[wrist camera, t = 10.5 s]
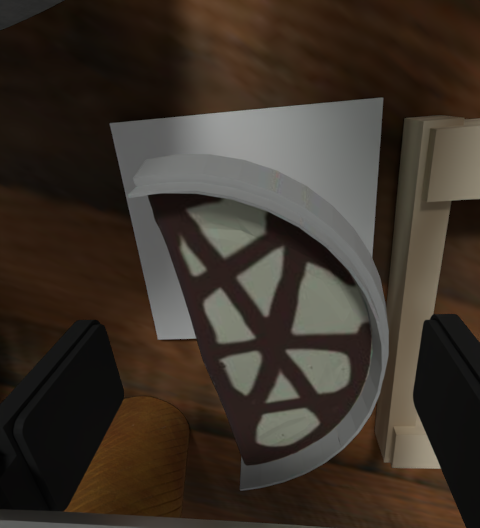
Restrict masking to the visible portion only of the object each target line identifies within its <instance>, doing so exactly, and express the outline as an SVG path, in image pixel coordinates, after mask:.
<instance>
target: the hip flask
mask: <svg viewBox="0 0 480 528" xmlns="http://www.w3.org/2000/svg"><path fill="white" fill-rule="evenodd" d="M62 1H64V0H0V30H2V29H5V28H7V27H10V26H12V25H14V24H17V23H19V22H21V21H23V20H26V19H28V18H30V17H32V16H34V15H36V14H39V13H41V12H43V11H45V10H47V9H49V8H51V7H53V6H55V5H56V4H58V3H60V2H62Z"/></svg>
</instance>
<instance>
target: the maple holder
mask: <svg viewBox="0 0 480 528" xmlns="http://www.w3.org/2000/svg"><path fill="white" fill-rule="evenodd" d="M464 119H465V118H463V117H454V116H444V115H434V116H423V117H411V118H404V127H403V138H402V148H401V159H400V169H399V180H398V190H397V201H396V211H395V222H394V232H393V243H392V253H391V264H390V275H389V285H388V296H387V306H386V312H387V320H388V329H389V356H388V361H387V365H386V370H385V375H384V379H383V382H382V387H381V392H380V395H379V397H378V401H377V411H376V422H375V435H376V438H377V441H378V444H379V447H380V451H381V454H382V457H383V460H384V462H390V463H391V466H392V468H441V467H440V465H439V462H438V460H437V458H436V455H435V453H434V451H433V448H432V446H431V444H430V441H429V439H428V437H427V434H426V432H425V430H424V427H423V425H422V423H421V420H420V418H419V416H418V413H417V411H416V409H415V406H414V402H413V389H414V382H415V376H416V369H417V362H418V356H419V349H420V342H421V335H422V329H423V323H424V321H425V320H430V318H431V316H432V315H433V313H434V306H435V300H436V294H437V288H438V281H439V275H440V269H441V263H442V256H443V250H444V244H445V238H446V231H447V225H448V219H449V213H450V206H451V201H453V200H469V199H480V118H477V119H466V120H464Z"/></svg>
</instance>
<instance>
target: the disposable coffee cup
mask: <svg viewBox="0 0 480 528" xmlns="http://www.w3.org/2000/svg"><path fill="white" fill-rule="evenodd" d="M189 434H190V431H189V425H188V423H187V420H186V418H185V417H184V415H183V414H182V413H181V412H180V411H179V410H178V409H176V408H175V407H174V406H172V405H171V404H169V403H167V402H165V401H163V400H160V399H157V398H152V397H144V396H137V397H130V398H126V399H124V400H123V401H122V404H121V406H120V408H119V409H118V411H117V413H116V415H115V417H114V419H113V421H112V423H111V425H110V427H109V429H108V431H107V432H106V434H105V436H104V438H103V440H102V442H101V444H100V446H99V448H98V450H97V452H96V454H95V456H94V457H93V459H92V461H91V463H90V465H89V467H88V469H87V471H86V473H85V475H84V477H83V479H82V481H81V482H80V484H79V486H78V488H77V490H76V492H75V494H74V496H73V498H72V500H71V502H70V504H69V505H68V507H67V508H66V509H65V510H64V511H63V512H80V513H98V514H117V515H135V516H154V517H170V518H181V513H182V503H183V493H184V483H185V473H186V463H187V452H188V442H189Z"/></svg>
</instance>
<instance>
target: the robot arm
mask: <svg viewBox="0 0 480 528" xmlns="http://www.w3.org/2000/svg"><path fill="white" fill-rule="evenodd" d="M123 398H124V390H123V386H122V383H121V379H120V376H119V373H118V369H117V366H116V362H115V359H114V356H113V352H112V349H111V345H110V342H109V339H108V335H107V332H106V329H105V326H104V325H102V324H100V323H99V321H97V320H78V321H76V322H75V323H74V324H73V325H72V326H71V327H70V328H69V329H68V331H67V332H66V333H65V334H64V335H63V336H62V337H61V338H60V339H59V340H58V342H57V343H56V344H55V345H54V346H53V347H52V348H51V349H50V350H49V351H48V353H47V354H46V355H45V356H44V357H43V358H42V359H41V360H40V361H39V362H38V364H37V365H36V366H35V367H34V368H33V369H32V370H31V371H30V372H29V373H28V374H27V376H26V377H25V378H24V379H23V380H22V381H21V382H20V383H19V384H18V385H17V387H16V388H15V389H14V390H13V391H12V392H11V393H10V394H9V395H8V396H7V398H6V399H5V400H4V401H3V402H2V403H1V404H0V528H331V527H316V526H301V525H286V524H270V523H254V522H237V521H221V520H204V519H187V518H170V517H154V516H135V515H117V514H98V513H80V512H63V511H64V510H65V509H66V508H67V507H68V505H69V504H70V502H71V500H72V498H73V496H74V494H75V492H76V490H77V488H78V486H79V484H80V482H81V481H82V479H83V477H84V475H85V473H86V471H87V469H88V467H89V465H90V463H91V461H92V459H93V457H94V456H95V454H96V452H97V450H98V448H99V446H100V444H101V442H102V440H103V438H104V436H105V434H106V432H107V431H108V429H109V427H110V425H111V423H112V421H113V419H114V417H115V415H116V413H117V411H118V409H119V408H120V406H121V404H122V401H123ZM413 402H414V406H415V409H416V411H417V413H418V416H419V418H420V420H421V423H422V425H423V427H424V430H425V432H426V434H427V437H428V439H429V441H430V444H431V446H432V448H433V451H434V453H435V455H436V458H437V460H438V462H439V465H440V467H441V469H442V472H443V474H444V477H445V479H446V481H447V484H448V486H449V488H450V491H451V493H452V495H453V498H454V500H455V502H456V505H457V507H458V509H459V512H460V514H461V516H462V519H463V521H464V523H465V526H466V528H480V343H479V341H478V340H477V339H476V338H475V336H474V335H473V334H472V333H471V331H470V330H469V329H468V328H467V326H466V325H465V324H464V323H463V321H462V320H461V319H460V318H459V316H458V315H456V314H433V315H432V316H431V318H430V320H425V321H424V323H423V329H422V335H421V342H420V349H419V356H418V362H417V369H416V376H415V382H414V389H413Z"/></svg>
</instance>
